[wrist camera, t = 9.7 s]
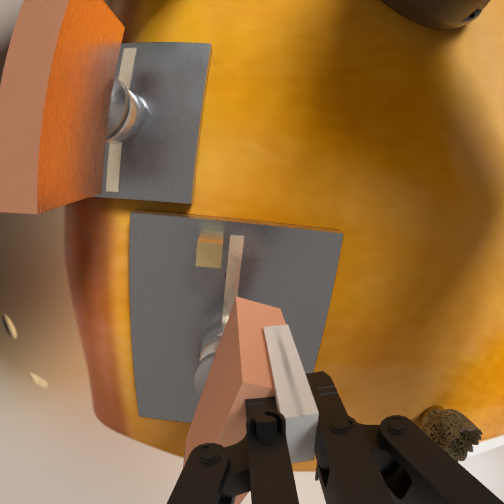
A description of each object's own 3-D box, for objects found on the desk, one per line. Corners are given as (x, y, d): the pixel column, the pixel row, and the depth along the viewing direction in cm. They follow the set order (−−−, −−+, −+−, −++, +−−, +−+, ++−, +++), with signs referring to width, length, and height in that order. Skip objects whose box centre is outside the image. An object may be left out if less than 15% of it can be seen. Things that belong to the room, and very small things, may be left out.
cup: (401, 440, 34) (424, 481, 27) (410, 403, 32) (440, 447, 24) (445, 422, 34) (472, 458, 27) (458, 384, 32) (490, 421, 25)
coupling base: (135, 209, 24) (111, 223, 18) (337, 229, 26) (365, 248, 20) (141, 406, 29) (130, 445, 24) (295, 416, 31) (305, 455, 25)
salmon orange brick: (177, 426, 23) (166, 517, 14) (223, 286, 20) (221, 377, 11) (230, 437, 24) (233, 528, 15) (289, 305, 20) (328, 397, 12)
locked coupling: (72, 53, 20) (-31, -5, 6) (212, 50, 21) (198, -57, 8) (55, 192, 23) (-66, 228, 9) (193, 201, 24) (152, 252, 11)
